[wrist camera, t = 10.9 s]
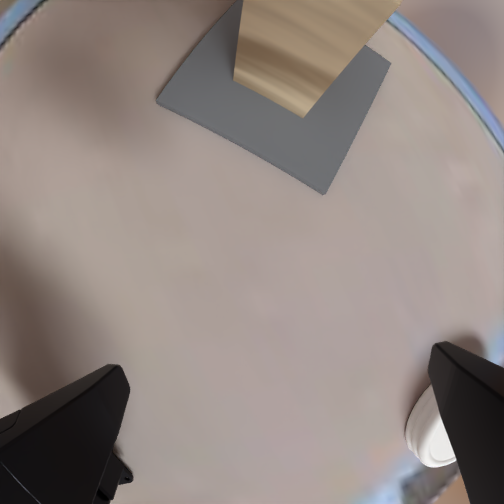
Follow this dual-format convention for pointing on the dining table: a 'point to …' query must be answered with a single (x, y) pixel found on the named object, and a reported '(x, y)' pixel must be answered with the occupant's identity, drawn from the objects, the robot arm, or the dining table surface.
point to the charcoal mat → (274, 107)
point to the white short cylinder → (428, 432)
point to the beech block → (302, 45)
